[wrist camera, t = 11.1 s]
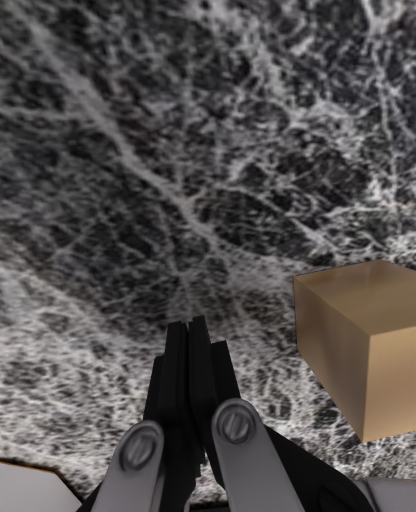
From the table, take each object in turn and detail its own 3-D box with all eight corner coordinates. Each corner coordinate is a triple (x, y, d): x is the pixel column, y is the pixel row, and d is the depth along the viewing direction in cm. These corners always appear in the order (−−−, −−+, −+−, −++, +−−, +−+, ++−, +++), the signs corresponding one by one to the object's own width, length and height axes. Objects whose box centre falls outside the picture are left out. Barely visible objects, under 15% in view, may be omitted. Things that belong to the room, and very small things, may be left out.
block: (292, 276, 11) (370, 336, 6) (379, 258, 11) (518, 304, 7) (297, 349, 13) (362, 443, 8) (374, 333, 13) (484, 415, 8)
